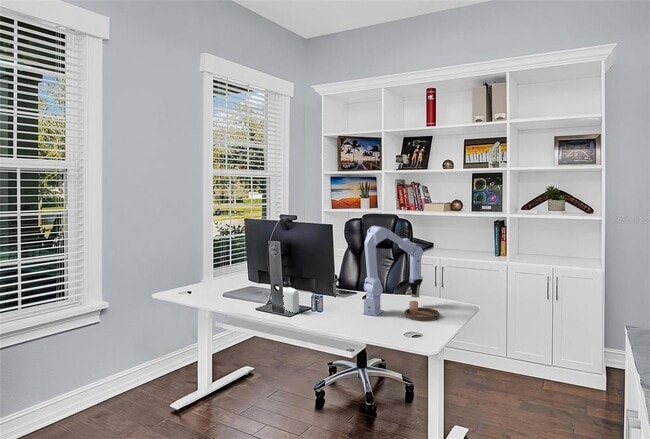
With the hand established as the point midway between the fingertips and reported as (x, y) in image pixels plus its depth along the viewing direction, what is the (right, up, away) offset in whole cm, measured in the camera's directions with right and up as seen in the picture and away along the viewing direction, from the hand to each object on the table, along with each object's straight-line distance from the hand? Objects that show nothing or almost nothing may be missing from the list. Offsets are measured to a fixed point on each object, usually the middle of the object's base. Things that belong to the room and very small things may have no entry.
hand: (415, 293), depth 244 cm
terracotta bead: (-4, -8, -15) cm, 18 cm away
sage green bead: (0, -2, 0) cm, 2 cm away
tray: (0, -8, -17) cm, 19 cm away
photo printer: (-66, -9, -4) cm, 66 cm away
